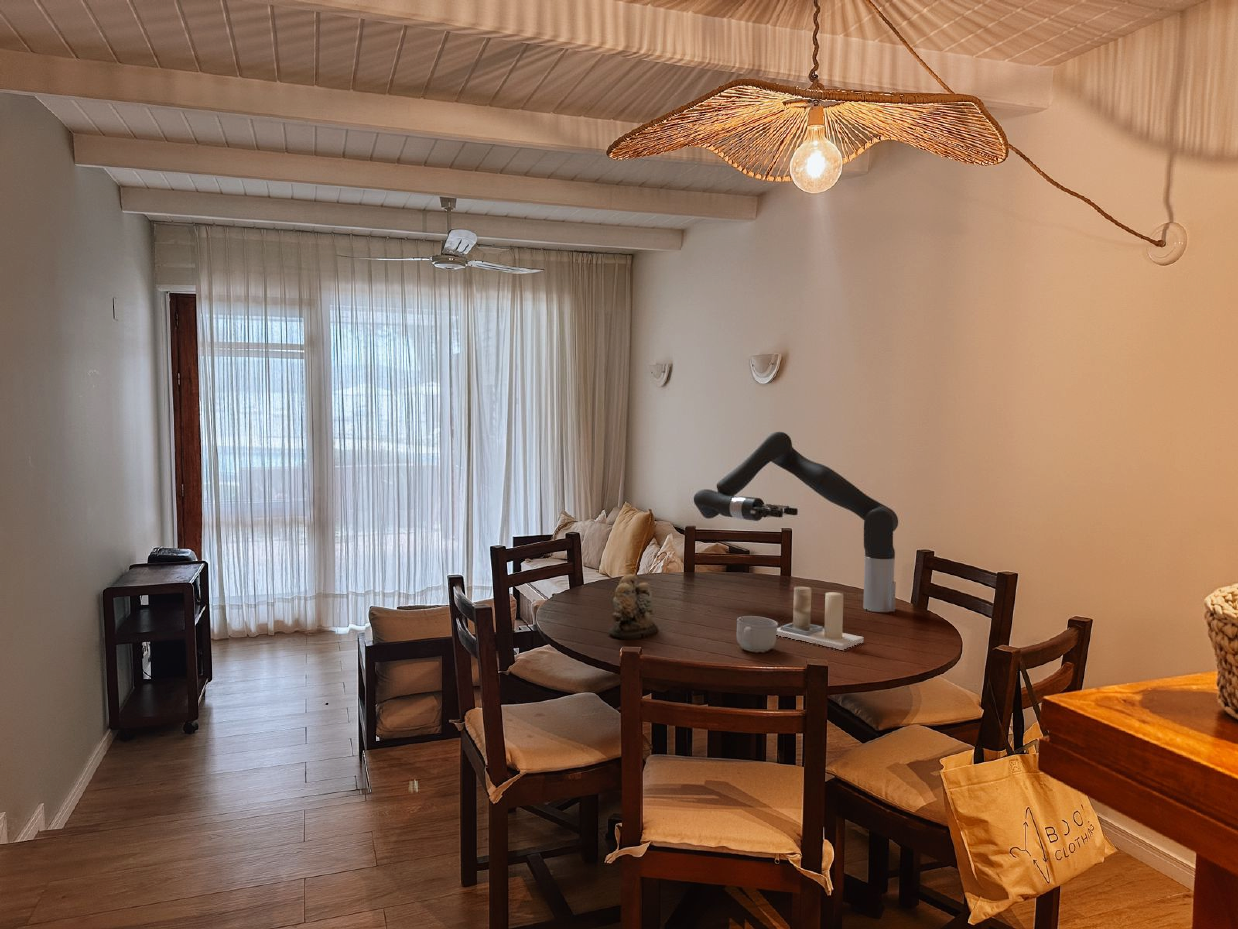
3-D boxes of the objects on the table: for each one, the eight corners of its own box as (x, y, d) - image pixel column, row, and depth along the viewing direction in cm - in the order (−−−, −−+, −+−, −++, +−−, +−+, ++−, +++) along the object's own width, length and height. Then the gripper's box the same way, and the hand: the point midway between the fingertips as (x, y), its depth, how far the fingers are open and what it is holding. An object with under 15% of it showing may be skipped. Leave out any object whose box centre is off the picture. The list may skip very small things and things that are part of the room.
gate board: (771, 634, 236) (773, 588, 235) (794, 627, 245) (795, 582, 244) (841, 651, 221) (843, 601, 220) (863, 642, 230) (864, 594, 229)
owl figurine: (632, 644, 226) (632, 582, 225) (597, 637, 232) (597, 577, 231) (667, 629, 240) (667, 571, 239) (633, 623, 247) (633, 567, 246)
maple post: (808, 628, 239) (809, 586, 238) (811, 632, 234) (812, 590, 233) (791, 627, 239) (792, 586, 238) (794, 631, 234) (795, 590, 233)
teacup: (749, 641, 229) (750, 613, 228) (784, 649, 222) (785, 619, 222) (722, 652, 218) (722, 622, 218) (758, 660, 211) (759, 630, 211)
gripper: (734, 498, 266) (777, 502, 254) (759, 495, 276) (802, 499, 265) (733, 521, 266) (776, 526, 255) (759, 517, 276) (801, 522, 265)
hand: (789, 513), depth 260 cm, fingers open, 8 cm apart
